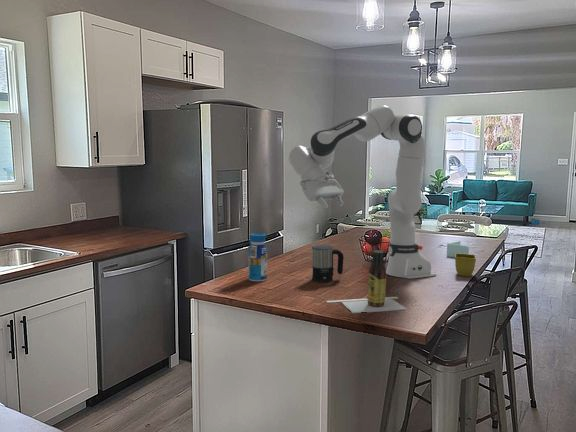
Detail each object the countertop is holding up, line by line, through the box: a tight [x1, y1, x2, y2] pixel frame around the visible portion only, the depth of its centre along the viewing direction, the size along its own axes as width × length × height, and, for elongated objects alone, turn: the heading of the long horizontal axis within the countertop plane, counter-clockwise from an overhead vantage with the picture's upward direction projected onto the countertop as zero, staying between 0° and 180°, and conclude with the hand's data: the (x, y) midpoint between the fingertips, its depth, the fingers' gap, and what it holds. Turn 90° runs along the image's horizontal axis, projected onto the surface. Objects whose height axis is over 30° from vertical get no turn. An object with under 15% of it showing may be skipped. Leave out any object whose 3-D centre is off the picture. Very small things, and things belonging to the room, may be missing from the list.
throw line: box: [326, 296, 399, 304], centre depth 186 cm, size 28×2×1 cm, turn 102°
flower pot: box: [454, 253, 477, 277], centre depth 225 cm, size 9×9×9 cm
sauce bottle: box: [367, 249, 387, 307], centre depth 178 cm, size 6×6×20 cm
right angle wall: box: [446, 240, 470, 258], centre depth 267 cm, size 12×12×8 cm
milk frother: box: [311, 244, 345, 283], centre depth 219 cm, size 14×16×15 cm
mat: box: [341, 299, 407, 314], centre depth 179 cm, size 20×12×1 cm, turn 102°
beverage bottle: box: [247, 232, 268, 282], centre depth 215 cm, size 8×8×20 cm
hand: (334, 206), depth 193 cm, fingers open, 8 cm apart
